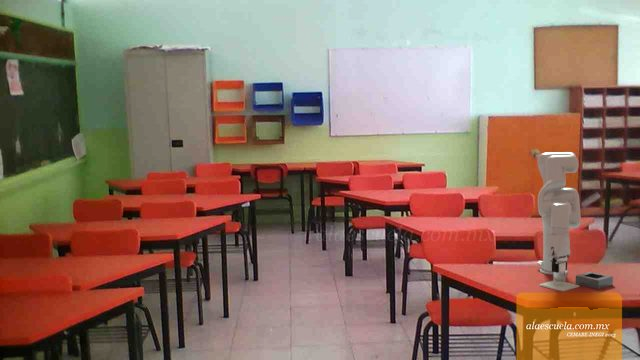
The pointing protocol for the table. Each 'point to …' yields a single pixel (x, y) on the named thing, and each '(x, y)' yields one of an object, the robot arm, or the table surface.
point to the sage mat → (559, 285)
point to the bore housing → (594, 280)
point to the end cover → (560, 270)
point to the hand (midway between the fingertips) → (559, 270)
